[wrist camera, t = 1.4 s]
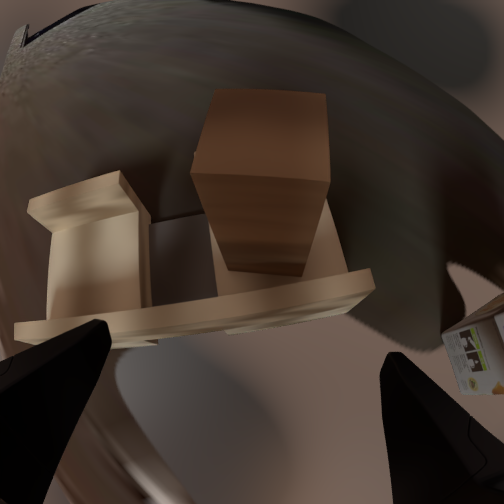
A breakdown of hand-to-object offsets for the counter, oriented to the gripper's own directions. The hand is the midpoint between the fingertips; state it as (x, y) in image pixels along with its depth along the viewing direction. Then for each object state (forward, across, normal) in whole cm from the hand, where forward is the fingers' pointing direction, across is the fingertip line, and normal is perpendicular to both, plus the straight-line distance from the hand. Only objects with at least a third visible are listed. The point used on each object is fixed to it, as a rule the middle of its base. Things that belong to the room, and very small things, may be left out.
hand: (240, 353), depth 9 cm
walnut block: (+13, 0, +2) cm, 13 cm away
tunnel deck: (+14, +7, +5) cm, 16 cm away
